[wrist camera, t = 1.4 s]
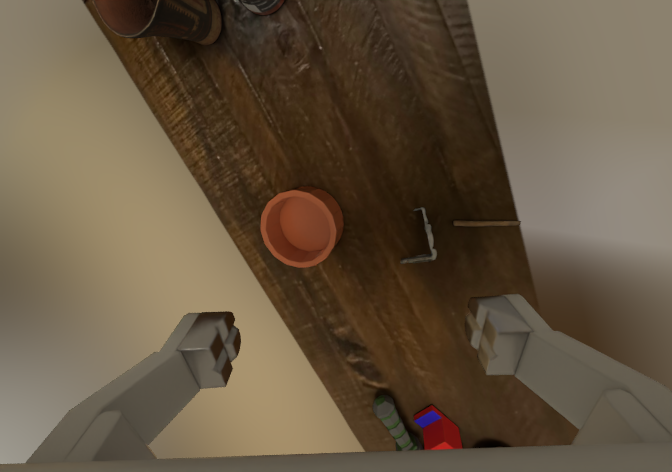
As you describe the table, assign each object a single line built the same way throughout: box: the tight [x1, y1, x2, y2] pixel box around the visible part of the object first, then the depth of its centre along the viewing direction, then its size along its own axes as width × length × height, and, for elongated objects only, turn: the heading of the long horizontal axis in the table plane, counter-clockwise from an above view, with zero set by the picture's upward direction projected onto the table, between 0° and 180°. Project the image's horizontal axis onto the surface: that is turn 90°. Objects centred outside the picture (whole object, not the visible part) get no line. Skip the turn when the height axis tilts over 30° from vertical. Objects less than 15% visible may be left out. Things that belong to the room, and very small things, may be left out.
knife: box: [373, 395, 423, 451], centre depth 41 cm, size 22×4×5 cm
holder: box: [261, 186, 344, 268], centre depth 34 cm, size 9×9×4 cm
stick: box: [453, 220, 521, 227], centre depth 31 cm, size 7×1×1 cm, turn 93°
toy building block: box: [414, 405, 463, 450], centre depth 39 cm, size 4×4×8 cm
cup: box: [92, 0, 221, 45], centre depth 28 cm, size 9×9×10 cm
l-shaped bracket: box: [401, 207, 437, 264], centre depth 33 cm, size 7×1×5 cm
